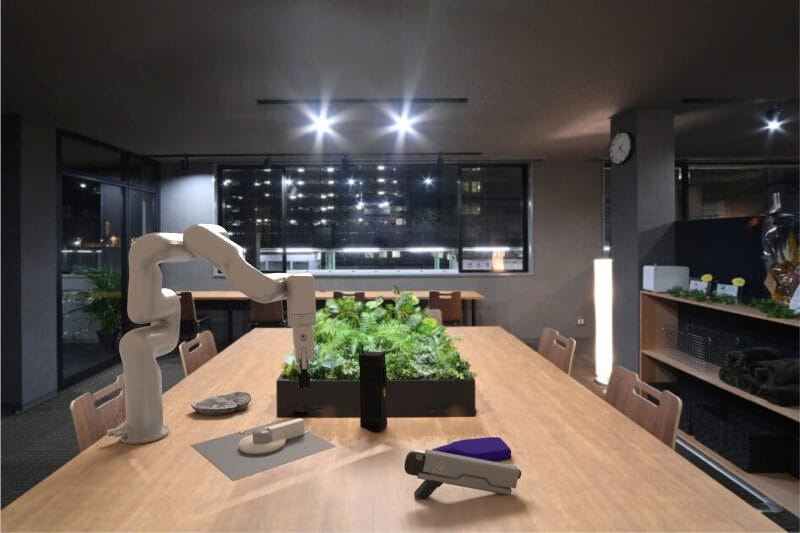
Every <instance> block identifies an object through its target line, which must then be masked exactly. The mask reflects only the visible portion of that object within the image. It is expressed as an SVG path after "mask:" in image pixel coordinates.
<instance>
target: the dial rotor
mask: <svg viewBox="0 0 800 533" xmlns="http://www.w3.org/2000/svg"><path fill="white" fill-rule="evenodd" d="M286 421H287V422H283V423H280V424H276V425H272V426H269V427H267V428H261V429H257V430H254V431H253V434H252V435H249V436H246V437H244V438H243V439H241V440H240V442H239V450H240V451H241V452H243V453H246V454H265V453H270V452H274V451H276V450H279V449H281V448H282V447H283V446H284V445H285V444H286V440H287V439H290V438H293V437H297V436H300V435H303V434H304V430H305V419H303V418H301V417H299V418H295V419H291V420H286Z"/></svg>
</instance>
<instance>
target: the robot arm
mask: <svg viewBox="0 0 800 533" xmlns="http://www.w3.org/2000/svg"><path fill="white" fill-rule="evenodd" d="M244 257H245V251H244V248H243V247H242V246H240V245H238V244H237V243H235V242H234V241H232V240H231V239H230V236H229V233H228V232H227V230H225V228H223V226H220V225H218V224H209V223H208V224H207V223H206V224H205V223H195V224H192V225H190V226H188V227H187V228H185V230H184V232H182V233H177V232H176V233H175V232H173V233H172V232H171V233H170V232H150V233H146V234H143V235H141V236H139V237H137V239H136V240H135V241H134V242H132V244H131V246H130V248H129V251H128V268H129V269H128V270H129V271H128V274H129V276H128V278H129V279H128V289H127V292H128V293H127V308H126V309H127V316H128V318H129V320H130V321H131V322H133V323H135V324H149V323H150V325H147V326H142V327H137V328H134V329H131V330H130V331H128V332H126V333H125V334H123V336H122V337H121V339H120V340H119V344H118V345H119V346H118V351H119V355H120V358H121V362H122V368H123V376H124V400H125V401H124V402H125V403H124V404H125V406H124V407H125V422H124V421H123V423H122V425H120V426H119V427H117V428H111V429H107V431H106V435H107V437H108V438H110V437H114V438H118V437H120V441H121V442H122V443H124V444H128V445H134V444H135V445H139V444H146V443H151V442H155V441H158V440H160V439H163V438H165V437H166V436H167V435H168V434H170V427H169V426H168V425H166V424H164V410H163V409H164V406H163V380H162V378H163V377H162V371H161V368H160V365H159V364H158V361H157V357H158V358H159V357H161V356H163V355H167V354H168V353H171V352H172V351H174V350H175V348H177V345H178V342H179V339H180V326H181V325H180V324H181V310H182V309H181V308H182V307H181V306H182V305H181V301H180V298H179V296H178V295H177V293H176V292H175V291H173V290H172V289H170V288H163V273H162V270H161V267H160V266H159V264H161V263H162V264H163V263H184V262H190V261H195V260H200V259H201V260H203V261H204V262H206V263H208V264H210V266H212V267H214V268H215V269H217V271H220V272H221V273H222V274H223V275H224V277H225V279H226V280H227V281H228V283H229V284H230V285H231V286H232V287H233V288H234V289H235V290H237V291H238V292H239V293H241V294H243V295H245V297H247V298H249V299H251V300H252V301H254V302H257V303H260V304H269V303H273V302H278V301H282V300H286V305H287V306H286V307H287V311H286V312H287V327H291V328H292V343H293V352H294V358H295V363H296V364H297V367H298V369H297V370H298V372H297V378H298V388H309V387H310V388H311V372H310V363H312V364H314V363H315V361H316V360H315V359H316V358H315V343H314V342H315V340H314V328H313V326H316V325H317V308H316V307H317V306H316V303H317V302H316V301H317V300H316V279H315V276H314V275H313V274H312V273H293V274H292V273H291V274H290V273H283V272H282V273H281V272H276V273H274V272H273V273H267V274H266V273H263V272H261V271H260V270H258V269H257V268H255V267H253V265H251V264H249V263H248V262H247V261H246V260H245V259H244Z"/></svg>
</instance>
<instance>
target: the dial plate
mask: <svg viewBox="0 0 800 533" xmlns="http://www.w3.org/2000/svg"><path fill="white" fill-rule="evenodd" d="M287 421H288V420H286V419H281V420H278V421H273V422H270V423H267V424H266V423H265V424H263V425H260V426H259V425H258V426H256V427H253V428H249V429H244V430H239V431H238V432H234V433H229V434H225V435H223V436H219V437H215V438H212V439H208V440H204V441H201V442H197V443H193V444H190V446H191V448H193V449H194V450H195V451H196V452H198V453H199V454H200V455H201V456H202V457H204V458H205V459H206V460H208V462H209V463H211V464H212V465H213V466H214V467H216V469H218V470H219V471H220V472H221V473H223V474H224V475H225V476H226V477H228V478H229V479H230V481H232V482H234V481H238V480H240V479H241V480H242V479H244V478H247V477H250V476H253V475H255V474H259V473H262V472H265V471H268V470H270V469H273V468H276V467H280V466H282V465H286V464H288V463H291V462H294V461H297V460H300V459H303V458H306V457H308V456H311V455H315V454H317V453H320V452H323V451H327V450H330V449H334V448H335V447H337V445H335V444H333V443H331V442H330V441H327V440H325V439H323V438H321V437H319V436H317V435H316V434H313V433H311V432H310V431H308V430H306V429H304V434H303V435H300V436H297V437H293V438H290V439H287V440H286V444H285V445H284V446H283V447H282V448H281V449H279V450H276V451H274V452H270V453H265V454H246V453H243V452H241V451H240V450H239V442H240V440H241V439H243V438H244V437H246V436H249V435H252V434H253V431H254V430H257V429H261V428H267V427H269V426H272V425H276V424H280V423H283V422H287Z"/></svg>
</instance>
